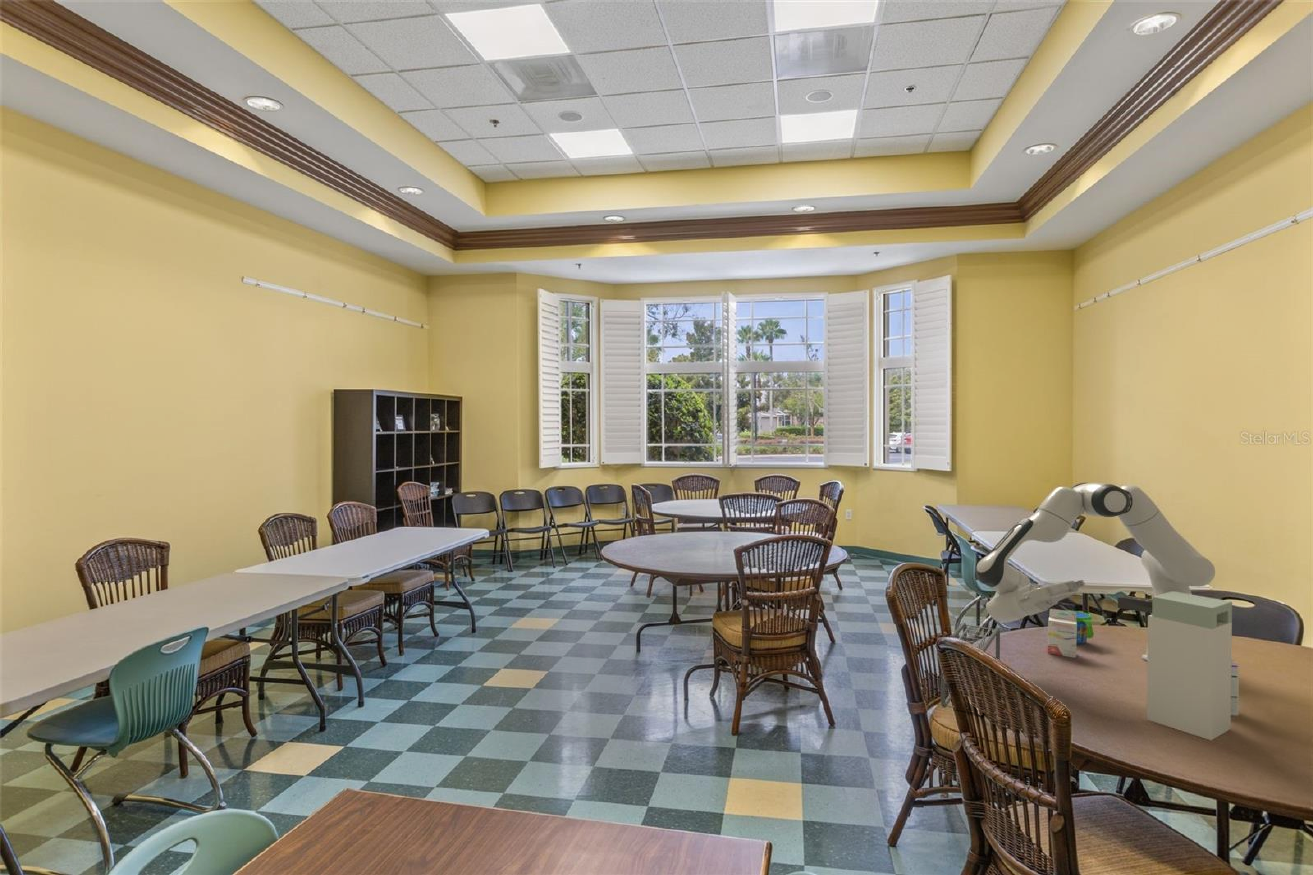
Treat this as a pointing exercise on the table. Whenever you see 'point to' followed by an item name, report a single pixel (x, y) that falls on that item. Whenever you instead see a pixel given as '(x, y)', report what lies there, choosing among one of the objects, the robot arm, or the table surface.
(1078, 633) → the snack cup
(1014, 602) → the robot arm
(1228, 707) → the slot stand
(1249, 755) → the table surface
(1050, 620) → the ink cartridge box
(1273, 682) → the table surface
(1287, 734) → the table surface
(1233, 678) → the syrup box
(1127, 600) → the domino bar
